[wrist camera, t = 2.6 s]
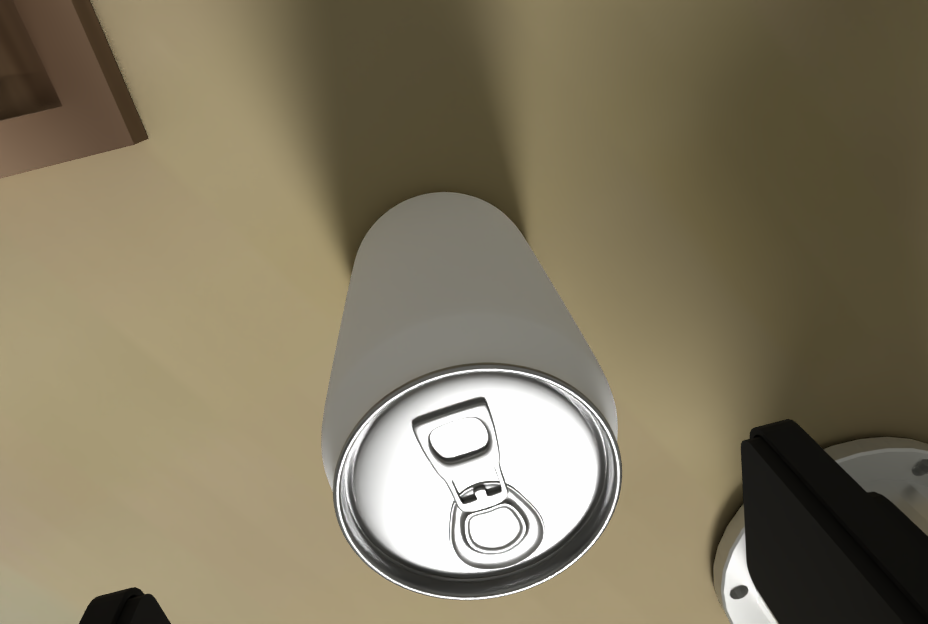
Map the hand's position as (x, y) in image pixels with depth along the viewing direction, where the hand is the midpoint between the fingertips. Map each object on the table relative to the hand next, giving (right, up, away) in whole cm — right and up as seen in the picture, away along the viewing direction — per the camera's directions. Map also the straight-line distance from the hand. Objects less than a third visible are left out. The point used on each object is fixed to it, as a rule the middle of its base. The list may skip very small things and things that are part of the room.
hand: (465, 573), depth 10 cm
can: (-1, +5, +13) cm, 15 cm away
